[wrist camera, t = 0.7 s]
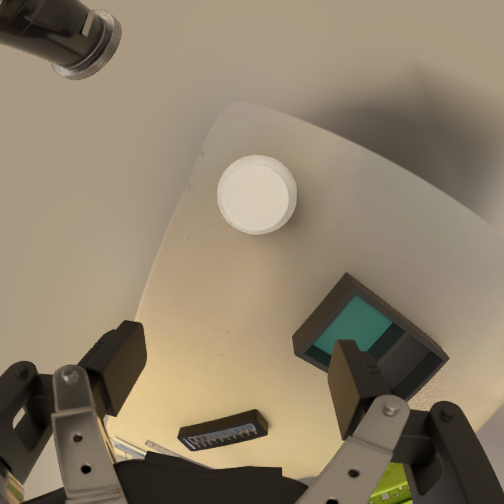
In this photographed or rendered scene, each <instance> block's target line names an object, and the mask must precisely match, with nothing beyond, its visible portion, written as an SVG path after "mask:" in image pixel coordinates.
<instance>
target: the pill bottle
mask: <svg viewBox="0 0 504 504" xmlns="http://www.w3.org/2000/svg"><path fill="white" fill-rule="evenodd" d="M217 201H218V206H219V209H220V211H221V213H222V215H223V217H224V218H225V219H226V221H227V222H228V223H229V224H230V225H232V226H233V227H234V228H236V229H238V230H239V231H242V232H244V233H248V234H254V235H260V234H266V233H270V232H273V231H275V230H277V229H279V228H280V227H281V226H283V225H284V224H285V223H286V222H287V221H288V220H289V218H290V217H291V216H292V214H293V212H294V209H295V207H296V203H297V186H296V182H295V180H294V178H293V175H292V174H291V172H290V171H289V169H288V168H287V167H286V166H285V165H284V164H282V163H281V162H280V161H278V160H276V159H274V158H272V157H269V156H265V155H249V156H245V157H242V158H240V159H238V160H236V161H235V162H233V163H232V164H231V165H230V166H229V167H228V168H227V169H226V170H225V171H224V173H223V174H222V176H221V178H220V181H219V184H218V188H217Z"/></svg>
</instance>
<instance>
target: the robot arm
mask: <svg viewBox="0 0 504 504" xmlns="http://www.w3.org/2000/svg"><path fill="white" fill-rule="evenodd" d="M106 31H107V26H106V22H105V20H104V19H103V18H102V17H100V16H99V15H97V14H95V13H94V12H93V11H92V10H90V9H89V8H88V7H87V6H85V5H84V4H82V3H81V2H80V1H78V0H0V44H2V45H5V46H8V47H11V48H14V49H17V50H20V51H23V52H26V53H29V54H31V55H34V56H37V57H39V58H42V59H44V60H47V61H49V62H52V63H54V64H57V65H59V66H60V67H63V68H65V69H73V68H76V67H79V66H81V65H82V64H84V63H85V62H87V61H88V60H89V59H90V58H91V57H92V56H93V55H94V54H95V53H96V52H97V51H98V49H99V48H100V46H101V45H102V43H103V41H104V38H105V35H106ZM146 360H147V351H146V344H145V336H144V328H143V325H142V323H140V322H133V321H127V320H124V321H123V322H122V323H121V324H120V326H119V327H118V328H117V329H116V330H114V329H113V330H111V331H109V332H107V333H105V334H104V335H103V336H102V337H101V338H100V339H99V340H98V342H96V343H95V345H94V346H93V348H91V349H90V350H89V351H88V353H87V354H86V355H85V356H84V357H83V358H82V359H81V361H80V362H79V363H78V364H77V365H66V366H63V367H61V368H59V369H58V370H57V371H55V373H54V374H53V375H49V374H38V371H37V369H36V366H35V365H34V364H33V363H31V362H28V361H20V362H17V363H15V364H13V365H11V366H10V367H9V368H8V369H7V370H6V371H5V372H4V374H3V375H1V377H0V504H367V502H368V500H369V499H370V497H371V495H372V494H373V492H374V490H375V489H376V487H377V485H378V483H379V482H380V480H381V478H382V476H383V474H384V472H385V470H386V468H387V467H388V465H389V463H401V464H402V465H403V468H404V472H405V475H406V479H407V482H408V486H409V490H410V494H411V498H412V502H413V504H504V492H503V490H502V487H501V485H500V483H499V481H498V479H497V476H496V474H495V472H494V470H493V468H492V466H491V464H490V462H489V460H488V458H487V456H486V454H485V452H484V450H483V448H482V446H481V444H480V442H479V440H478V439H477V437H476V435H475V433H474V431H473V429H472V427H471V426H470V424H469V422H468V420H467V418H466V417H465V415H464V413H463V411H462V410H461V408H460V407H459V406H457V405H456V404H454V403H452V402H448V401H440V402H437V403H435V404H434V405H433V406H432V408H431V409H430V411H420V410H412V409H410V408H409V405H408V404H407V402H406V401H404V400H403V399H402V398H400V397H397V396H394V395H392V393H391V391H390V389H389V387H388V385H387V383H386V381H385V379H384V377H383V375H382V374H381V371H380V369H379V367H378V365H377V363H376V361H375V359H374V358H373V357H372V356H371V355H370V354H369V353H368V352H366V351H360V349H359V347H358V345H357V343H356V341H355V340H354V339H337V340H336V341H335V344H334V348H333V353H332V357H331V361H330V365H329V369H328V384H329V388H330V392H331V396H332V400H333V404H334V408H335V412H336V416H337V421H338V425H339V429H340V433H341V437H342V441H345V442H344V443H343V445H342V446H341V447H340V449H339V450H338V451H337V453H336V454H335V455H334V457H333V458H332V459H331V461H330V462H329V463H328V465H327V466H326V467H325V468H324V470H323V471H322V472H321V473H320V475H319V476H318V477H317V478H316V480H315V481H314V482H313V483H312V484H311V486H308V485H306V484H304V483H302V482H300V481H297V480H295V479H292V478H288V477H284V476H282V467H254V466H245V467H237V468H227V469H208V468H205V467H203V466H200V465H197V464H194V463H192V462H189V461H187V460H184V459H182V458H179V457H174V456H169V455H164V454H160V453H155V452H151V451H147V454H146V456H145V459H131V460H125V461H121V462H119V461H118V459H117V456H116V454H115V451H114V449H113V446H112V443H111V440H110V438H109V435H108V432H107V429H106V426H105V423H104V420H103V419H104V417H105V415H106V414H107V415H111V416H114V417H117V415H118V413H119V411H120V409H121V408H122V406H123V404H124V402H125V400H126V399H127V397H128V395H129V393H130V391H131V390H132V388H133V386H134V384H135V383H136V381H137V379H138V377H139V376H140V374H141V372H142V370H143V369H144V367H145V364H146ZM21 408H23V409H24V411H25V415H24V416H23V417H22V419H21V420H20V421H19V423H18V424H17V426H16V427H15V428H14V429H13V420H14V417H15V416H16V414H17V413H18V412H19V411H20V409H21ZM52 433H53V434H54V441H55V447H56V452H57V458H58V463H59V468H60V472H61V477H62V481H63V485H64V487H62V488H60V489H57V490H55V491H52V492H50V493H47V494H44V495H42V496H39V497H36V498H33V499H30V500H28V501H25V499H24V489H23V485H24V483H25V481H26V479H27V478H28V476H29V474H30V472H31V470H32V468H33V467H34V465H35V463H36V461H37V459H38V458H39V456H40V454H41V452H42V450H43V449H44V447H45V445H46V444H47V442H48V440H49V439H50V437H51V435H52Z"/></svg>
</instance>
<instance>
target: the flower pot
mask: <svg viewBox="0 0 504 504" xmlns="http://www.w3.org/2000/svg"><path fill="white" fill-rule="evenodd" d="M399 487H402V488H403V489H402V490H399ZM386 493H388V494H389V496H390V498H389V499H386V500H382V498H381V496H382V495H383V494H386ZM397 494H399V496H398V497H396V495H397ZM371 501H373V504H410V503H413V502H412V498H411V494H410V490H409V489H408V482H407V479H406V475H405V472H404V468H403V465H402V464H401V463H389V465H388V467H387V468H386V470H385V472H384V474H383V476H382V478H381V480H380V482H379V483H378V485H377V487H376V489H375V490H374V492H373V494H372V495H371V497H370V499H369V500H368V502H367V504H370V502H371Z"/></svg>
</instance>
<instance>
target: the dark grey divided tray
mask: <svg viewBox="0 0 504 504" xmlns="http://www.w3.org/2000/svg"><path fill="white" fill-rule="evenodd" d="M292 339H293V346H294V354H295V355H296V356H297V357H299V358H301V359H303V360H305V361H306V362H308V363H310V364H312V365H314V366H315V367H317V368H319V369H321V370H323V371H325V372H326V373H328V369H329V365H330V361H331V357H332V353H333V348H334V344H335V341H336V340H337V339H354V340H355V341H356V343H357V345H358V347H359V349H360V351H366V352H368V353H369V354H370V355H371V356H372V357H373V358H374V359H375V361H376V363H377V365H378V367H379V369H380V371H381V374H382V375H383V377H384V379H385V381H386V383H387V385H388V387H389V389H390V391H391V393H392V395H394V396H397V397H400V398H402V399H403V400H404V401H406V402H408V401H409V400H410V399H411V398H412V397H413V396H414V395H415V394H416V393H417V392H418V391H419V390H420V389H421V388H422V387H423V386H424V385H425V384H426V383H427V382H428V381H429V380H430V379H431V378H432V377H433V376H434V375H435V374H436V373H437V372H438V371H439V370H440V369H441V368H442V366H443V365H444V364H445V363H446V362H447V361H448V360H449V359H450V358H449V357H448V356H447V354H446V353H445V352H444V351H443V350H442V348H441V347H440V346H439V345H438V344H437V343H436V342H435V341H434V340H432V339H431V338H430V337H429V336H427V335H426V334H425V333H424V332H422V331H421V330H420V329H419V328H418V327H416V326H415V325H414V324H413V323H411V322H410V321H409V320H407V319H406V318H405V317H404V316H402V315H401V314H400V313H399V312H397V311H396V310H395V309H394V308H392V307H391V306H390V305H388V304H387V303H386V302H385V301H383V300H382V299H381V298H379V297H378V296H377V295H375V294H374V293H373V292H372V291H370V290H369V289H368V288H366V287H365V286H364V285H362V284H361V283H360V282H358V281H357V280H356V279H354V278H353V277H352V276H350V275H349V274H348V273H345V274H344V275H343V277H342V278H341V279H340V280H339V282H338V283H337V284H336V285H335V287H334V288H333V289H332V290H331V292H330V293H329V294H328V295H327V296H326V298H325V299H324V300H323V301H322V302H321V304H320V305H319V306H318V307H317V308H316V310H315V311H314V312H313V313H312V314H311V315H310V317H309V318H308V319H307V320H306V321H305V322H304V324H303V325H302V326H301V327H300V328H299V329H298V330H297V332H296V333H295V334H294V335H293V336H292Z"/></svg>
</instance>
